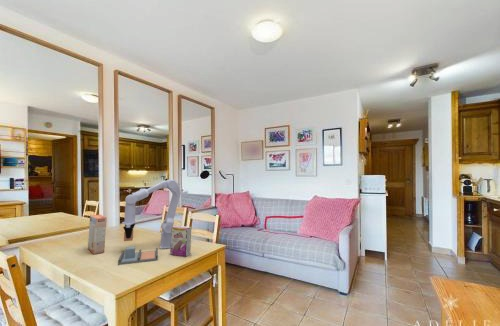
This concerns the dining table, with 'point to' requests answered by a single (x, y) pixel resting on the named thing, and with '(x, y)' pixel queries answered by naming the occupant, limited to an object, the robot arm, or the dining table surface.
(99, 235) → the cracker box
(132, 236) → the terracotta block
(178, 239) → the candy bar box
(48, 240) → the dining table surface
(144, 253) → the slot rack
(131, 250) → the slate-blue block
